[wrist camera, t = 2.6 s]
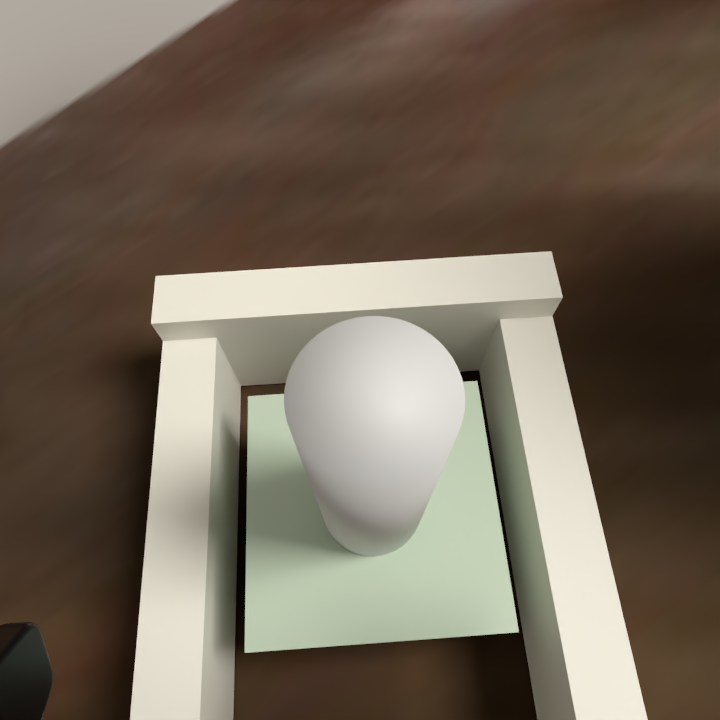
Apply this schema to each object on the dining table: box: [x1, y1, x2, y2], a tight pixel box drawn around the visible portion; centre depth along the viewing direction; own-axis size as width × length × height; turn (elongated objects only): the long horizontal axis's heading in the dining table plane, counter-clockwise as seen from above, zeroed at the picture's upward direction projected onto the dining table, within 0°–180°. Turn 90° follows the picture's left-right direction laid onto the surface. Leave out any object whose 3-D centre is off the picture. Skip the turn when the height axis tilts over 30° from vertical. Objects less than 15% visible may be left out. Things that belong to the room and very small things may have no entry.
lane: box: [130, 251, 648, 720], centre depth 16 cm, size 14×11×4 cm
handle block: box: [245, 316, 519, 653], centre depth 13 cm, size 6×6×11 cm
